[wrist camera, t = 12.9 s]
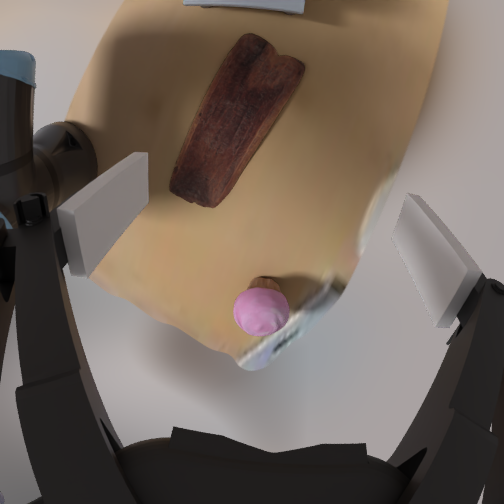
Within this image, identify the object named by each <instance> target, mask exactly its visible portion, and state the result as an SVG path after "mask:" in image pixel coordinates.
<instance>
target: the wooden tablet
mask: <svg viewBox="0 0 504 504" xmlns="http://www.w3.org/2000/svg"><path fill="white" fill-rule="evenodd" d="M304 71H305V66H304V63H303V62H301V61H299V60H297V59H295V58H292V57H290V56H286V55H282V56H279V55H278V54H277V52H276V50H275V48H274V47H273V46H272V45H271V44H269V43H268V42H267V41H265V40H264V39H262V38H261V37H259V36H256V35H254V34H250V33H249V34H245V35H243V36H242V37H241V38H240V39H239V41H238V42H237V43H236V45H235V46H234V47H233V49H232V50H231V51H230V53H229V54H228V56H227V58H226V59H225V61H224V62H223V64H222V66H221V67H220V69H219V71H218V73H217V74H216V76H215V78H214V80H213V82H212V84H211V85H210V87H209V89H208V91H207V93H206V95H205V97H204V99H203V101H202V103H201V105H200V108H199V110H198V112H197V114H196V117H195V119H194V121H193V123H192V125H191V128H190V130H189V133H188V135H187V137H186V140H185V142H184V145H183V147H182V150H181V152H180V155H179V157H178V160H177V162H176V167H175V168H174V171H173V174H172V177H171V181H170V191H171V192H172V193H173V194H175V195H176V196H179V197H181V198H183V199H184V200H186V201H188V202H190V203H193V202H195V203H196V204H198V205H200V206H203V207H211V208H215V207H216V206H218V204H219V203H221V202H222V200H223V199H224V198H225V197H226V196H227V195H228V194H229V193H230V191H231V190H232V189H233V187H234V185H235V183H236V181H237V180H238V178H239V176H240V175H241V173H242V171H243V170H244V168H245V166H246V165H247V163H248V161H249V160H250V158H251V156H252V155H253V153H254V152H255V150H256V149H257V147H258V146H259V144H260V143H261V141H262V139H263V138H264V136H265V135H266V133H267V132H268V130H269V129H270V127H271V126H272V124H273V123H274V121H275V119H276V118H277V116H278V115H279V113H280V111H281V110H282V108H283V106H284V105H285V104H286V102H287V100H288V99H289V97H290V96H291V94H292V93H293V91H294V90H295V88H296V86H297V85H298V83H299V82H300V80H301V78H302V76H303V74H304Z"/></svg>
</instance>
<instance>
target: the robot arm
mask: <svg viewBox="0 0 504 504" xmlns="http://www.w3.org/2000/svg"><path fill="white" fill-rule="evenodd" d="M35 68H36V61H35V58H34V56H33V55H31V54H30V53H28V52H25V51H16V50H0V381H1V372H2V365H3V359H4V353H5V347H6V342H7V337H8V332H9V327H10V323H11V318H12V314H13V310H14V306H15V309H16V327H17V340H18V350H19V359H20V367H21V374H22V381H23V386H20V387H17V388H16V391H15V394H16V403H17V409H18V414H19V419H20V424H21V428H22V433H23V436H24V441H25V445H26V448H27V452H28V456H29V459H30V463H31V465H32V469H33V472H34V475H35V478H36V481H37V484H38V487H39V490H40V492H41V495H42V496H41V497H39V498H38V499H36V500H34V501H32V502H30V503H28V504H477V503H478V500H479V498H480V496H481V493H482V490H483V488H484V485H485V488H484V493H483V500H482V504H504V285H503V284H502V283H501V282H499V281H497V280H495V279H491V278H490V279H487V278H486V277H485V275H484V274H483V273H482V271H481V270H480V268H479V267H478V265H477V264H476V263H475V261H474V260H473V259H472V258H471V256H470V255H469V254H468V252H467V251H466V250H465V249H464V247H463V246H462V245H461V243H460V242H459V241H458V240H457V239H456V237H455V236H454V235H453V234H452V232H451V231H450V230H449V229H448V228H447V227H446V225H445V224H444V223H443V222H442V221H441V219H440V218H439V217H438V216H437V215H436V214H435V213H434V211H433V210H432V209H431V208H430V207H429V206H428V205H427V204H426V203H425V202H424V200H423V199H422V198H421V197H420V196H417V195H413V194H409V193H407V195H406V198H405V201H404V204H403V207H402V210H401V213H400V216H399V219H398V222H397V225H396V227H395V230H394V233H393V236H392V238H391V239H392V241H393V243H394V245H395V247H396V248H397V250H398V252H399V254H400V256H401V258H402V260H403V261H404V263H405V265H406V267H407V269H408V271H409V273H410V275H411V277H412V279H413V281H414V283H415V285H416V287H417V289H418V291H419V294H420V296H421V298H422V300H423V302H424V304H425V306H426V309H427V310H428V313H429V315H430V317H431V319H432V322H433V324H434V326H435V327H438V328H450V326H451V324H452V323H453V321H454V320H455V318H456V317H457V318H458V319H459V321H460V324H459V326H458V327H457V329H456V330H455V332H454V333H453V335H452V336H451V338H450V339H449V341H448V342H447V343H446V344H447V345H449V344H450V345H449V348H448V350H447V353H446V355H445V358H444V360H443V362H442V364H441V367H440V369H439V371H438V373H437V376H436V378H435V380H434V382H433V384H432V386H431V388H430V390H429V392H428V394H427V396H426V398H425V400H424V402H423V404H422V406H421V408H420V410H419V411H418V413H417V415H416V417H415V419H414V420H413V422H412V424H411V426H410V427H409V429H408V431H407V433H406V434H405V436H404V437H403V439H402V441H401V442H400V444H399V445H398V447H397V449H396V450H395V452H394V453H393V455H392V456H391V457H390V458H389V459H388V461H387V462H385V461H383V460H381V459H379V458H375V457H373V456H369V455H367V450H366V443H361V444H360V443H359V444H320V445H315V446H311V447H306V448H301V449H296V450H290V451H284V452H278V453H271V452H267V451H264V450H261V449H258V448H255V447H252V446H249V445H246V444H243V443H241V442H237V441H235V440H232V439H230V438H227V437H225V436H222V435H216V434H210V433H203V432H198V431H193V430H187V429H183V428H178V427H173V430H172V434H171V438H156V439H149V440H144V441H140V442H137V443H134V444H131V445H129V446H126V447H123V445H122V443H121V441H120V439H119V438H118V436H117V434H116V432H115V430H114V428H113V426H112V424H111V421H110V419H109V417H108V414H107V412H106V410H105V407H104V405H103V402H102V400H101V397H100V395H99V392H98V390H97V387H96V384H95V382H94V379H93V376H92V373H91V371H90V368H89V365H88V362H87V359H86V356H85V353H84V349H83V346H82V343H81V340H80V336H79V333H78V329H77V326H76V322H75V319H74V315H73V311H72V307H71V303H70V299H69V295H68V291H67V286H66V281H65V276H64V273H63V267H64V266H65V265H66V264H67V263H68V265H69V269H70V273H71V275H72V276H77V277H81V278H86V279H88V277H89V276H90V275H91V273H92V272H93V271H94V269H95V268H96V267H97V265H98V264H99V263H100V261H101V260H102V259H103V258H104V256H105V255H106V254H107V252H108V251H109V250H110V249H111V247H112V246H113V245H114V244H115V242H116V241H117V240H118V239H119V237H120V236H121V235H122V234H123V232H124V231H125V230H126V229H127V228H128V226H129V225H130V224H131V223H132V222H133V220H134V219H135V218H136V217H137V216H138V214H139V213H140V212H141V211H142V210H143V209H144V207H145V206H146V205H147V204H148V203H149V193H148V153H146V152H133V153H132V154H130V155H129V156H127V157H126V158H124V159H123V160H121V161H120V162H118V163H117V164H116V165H114V166H113V167H111V168H110V169H108V170H107V171H106V172H104V173H103V174H101V175H100V176H99V177H97V160H96V155H95V152H94V149H93V146H92V144H91V142H90V141H89V139H88V137H87V136H86V135H85V134H84V133H83V132H82V131H81V130H80V129H79V128H78V127H76V126H75V125H73V124H70V123H67V122H55V123H52V124H49V125H47V126H44V127H43V128H41V129H40V130H38V131H37V132H36V133H35V134H34V135H33V113H34V111H33V110H34V93H35V88H36V83H35ZM491 423H492V432H490V427H491ZM0 504H4V497H3V495H2V493H1V491H0Z"/></svg>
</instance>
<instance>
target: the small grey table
mask: <svg viewBox="0 0 504 504" xmlns="http://www.w3.org/2000/svg"><path fill="white" fill-rule="evenodd" d="M304 4H305V0H184V1H183V5H185V6H201V7H202V8H209V7H211V6H230V7H246V8H258V9H268V10H276V11H284V12H285V13H286V14H288V15H293V14H295V13H297V14H303V11H304Z"/></svg>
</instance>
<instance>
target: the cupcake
mask: <svg viewBox="0 0 504 504" xmlns="http://www.w3.org/2000/svg"><path fill="white" fill-rule="evenodd" d="M234 318H235V320H236V322H237V324H238V325H239V326H240V327H241V328H242V329H243V330H244V331H246V332H247V333H248V334H250V335H253V336H266V335H270V334H273V333H275V332H276V331H278V330H280V329H281V328H283V327H284V326H285V324H286V322H287V321H288V318H289V305H288V302H287V299H286V297H285V296H284V295H283V294H282V293H281V291H280V288H279V285H278V284H277V283H276V282H274V281H273V280H272V279H264V278H260V277H258V278H254V279H253V280H252V281H251V283H250V285H249V287H248V289H247V290H246V291H244V292H242V293H241V294H240V295H239V296H238V297H237V299H236V301H235V303H234Z"/></svg>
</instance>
